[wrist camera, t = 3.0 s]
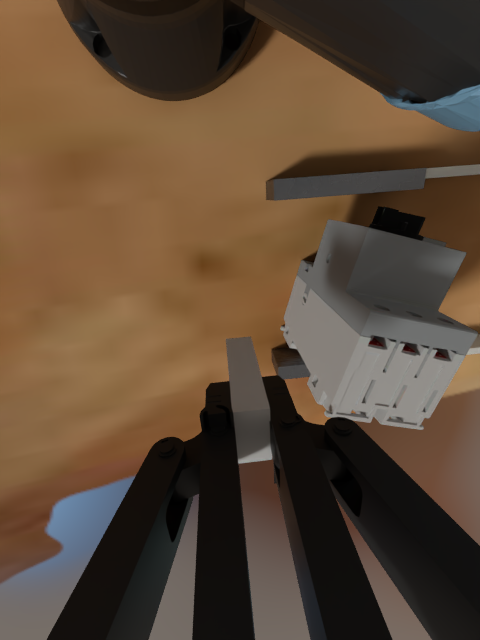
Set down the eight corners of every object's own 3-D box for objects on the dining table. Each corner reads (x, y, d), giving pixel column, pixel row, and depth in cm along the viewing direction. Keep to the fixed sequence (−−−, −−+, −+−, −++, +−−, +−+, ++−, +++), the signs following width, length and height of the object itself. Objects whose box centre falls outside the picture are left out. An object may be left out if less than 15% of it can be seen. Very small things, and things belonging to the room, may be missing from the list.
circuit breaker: (388, 216, 30) (536, 233, 16) (339, 340, 35) (420, 432, 21) (320, 198, 29) (417, 200, 15) (280, 329, 34) (325, 419, 20)
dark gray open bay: (265, 181, 28) (273, 179, 24) (399, 171, 28) (426, 167, 25) (271, 360, 36) (278, 379, 32) (377, 349, 36) (395, 367, 32)
